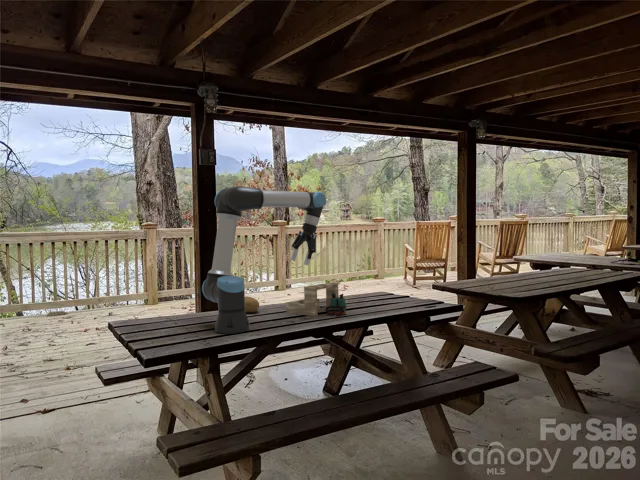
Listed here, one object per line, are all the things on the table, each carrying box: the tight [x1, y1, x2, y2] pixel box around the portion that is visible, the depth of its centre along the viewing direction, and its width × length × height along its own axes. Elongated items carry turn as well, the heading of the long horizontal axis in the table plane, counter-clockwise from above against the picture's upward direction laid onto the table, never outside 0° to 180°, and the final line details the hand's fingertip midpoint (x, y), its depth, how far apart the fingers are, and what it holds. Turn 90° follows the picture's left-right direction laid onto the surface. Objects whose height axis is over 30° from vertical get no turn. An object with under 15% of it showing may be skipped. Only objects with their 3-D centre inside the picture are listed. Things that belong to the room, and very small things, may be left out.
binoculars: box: [324, 293, 347, 317], centre depth 232 cm, size 9×11×10 cm
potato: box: [245, 296, 260, 313], centre depth 246 cm, size 10×14×8 cm
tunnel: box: [285, 282, 340, 318], centre depth 243 cm, size 18×21×14 cm
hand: (299, 262), depth 247 cm, fingers open, 13 cm apart
